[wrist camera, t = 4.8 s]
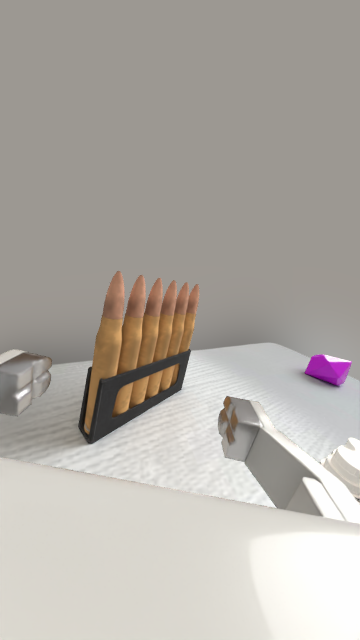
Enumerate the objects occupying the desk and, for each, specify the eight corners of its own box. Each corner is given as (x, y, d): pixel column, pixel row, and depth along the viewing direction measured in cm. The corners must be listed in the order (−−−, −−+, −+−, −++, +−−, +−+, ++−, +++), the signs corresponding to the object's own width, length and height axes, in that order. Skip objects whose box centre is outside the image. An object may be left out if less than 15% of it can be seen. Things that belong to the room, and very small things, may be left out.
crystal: (313, 369, 38) (323, 349, 37) (345, 385, 34) (357, 363, 33) (301, 371, 35) (311, 350, 34) (334, 390, 31) (347, 366, 30)
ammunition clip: (89, 444, 13) (113, 272, 10) (77, 427, 14) (96, 265, 11) (181, 389, 21) (210, 287, 18) (169, 380, 22) (194, 283, 19)
